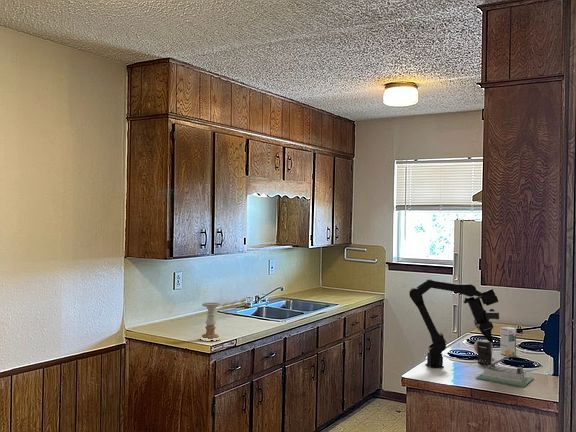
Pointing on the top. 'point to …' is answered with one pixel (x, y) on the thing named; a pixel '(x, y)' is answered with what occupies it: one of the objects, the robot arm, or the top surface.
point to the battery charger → (484, 352)
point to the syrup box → (508, 340)
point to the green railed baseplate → (505, 376)
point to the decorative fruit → (476, 345)
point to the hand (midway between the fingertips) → (489, 340)
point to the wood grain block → (508, 353)
